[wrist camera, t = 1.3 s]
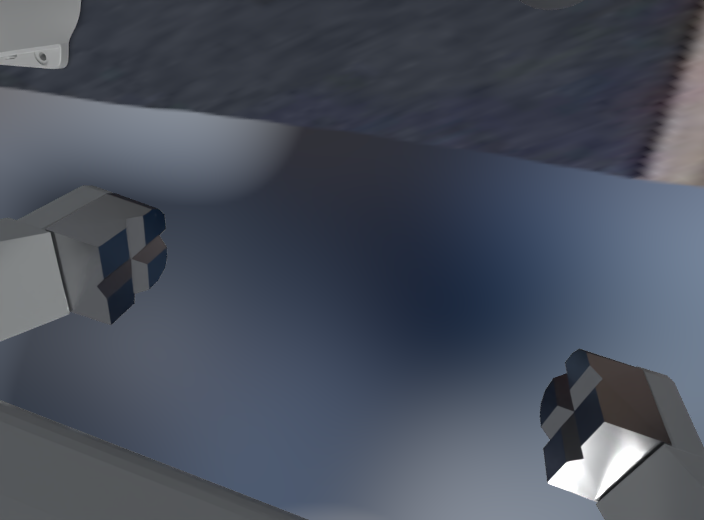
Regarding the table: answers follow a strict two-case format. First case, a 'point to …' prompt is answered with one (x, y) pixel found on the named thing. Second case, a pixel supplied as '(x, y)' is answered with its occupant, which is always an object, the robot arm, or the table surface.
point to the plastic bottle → (550, 4)
